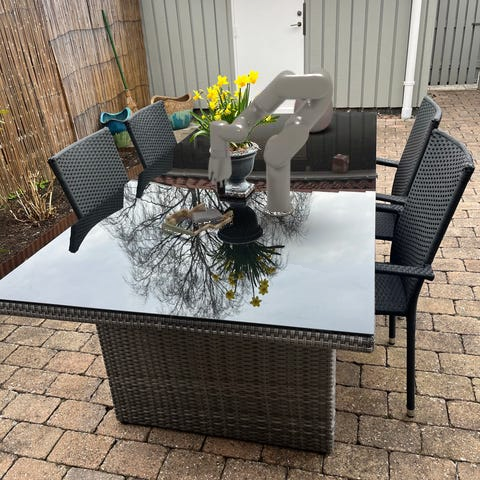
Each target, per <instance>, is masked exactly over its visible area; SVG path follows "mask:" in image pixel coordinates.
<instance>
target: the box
mask: <svg viewBox="0 0 480 480" xmlns="http://www.w3.org/2000/svg"><path fill="white" fill-rule="evenodd" d="M349 160H350V156H349V155H346V154H340V153H339V154H337V155H334V156H333V157H332V165H331V166H332V167H331V169H332V170H331V171H332V172H334V173H338V174H345V173H346V172H348V171H349V166H350V165H349V163H350V161H349Z"/></svg>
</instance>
